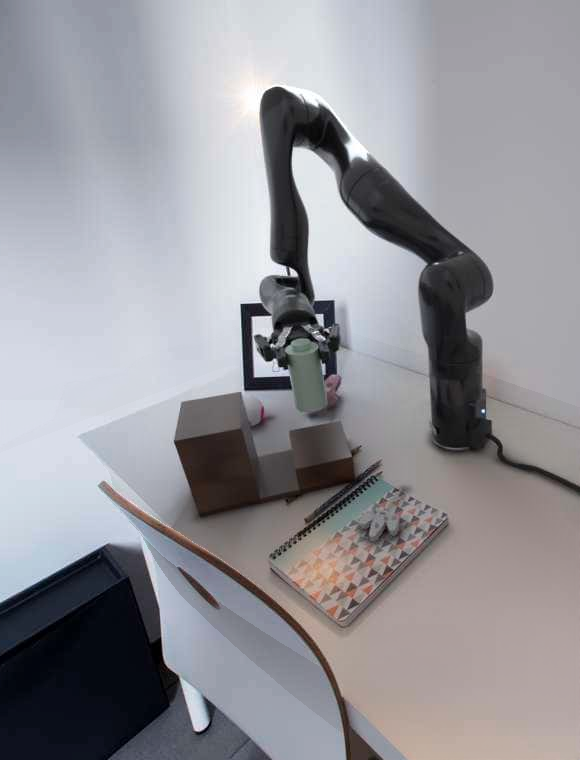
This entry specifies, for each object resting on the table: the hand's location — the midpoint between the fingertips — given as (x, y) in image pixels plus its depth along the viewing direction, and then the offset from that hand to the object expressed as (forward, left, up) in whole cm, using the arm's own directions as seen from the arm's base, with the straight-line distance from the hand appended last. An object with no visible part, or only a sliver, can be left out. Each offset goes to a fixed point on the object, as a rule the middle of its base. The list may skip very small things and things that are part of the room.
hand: (304, 360), depth 78 cm
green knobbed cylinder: (+2, -2, -9) cm, 9 cm away
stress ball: (+23, -10, -21) cm, 33 cm away
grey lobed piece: (-15, +5, -21) cm, 27 cm away
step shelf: (+7, +3, -21) cm, 23 cm away
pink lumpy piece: (+13, -21, -21) cm, 33 cm away
